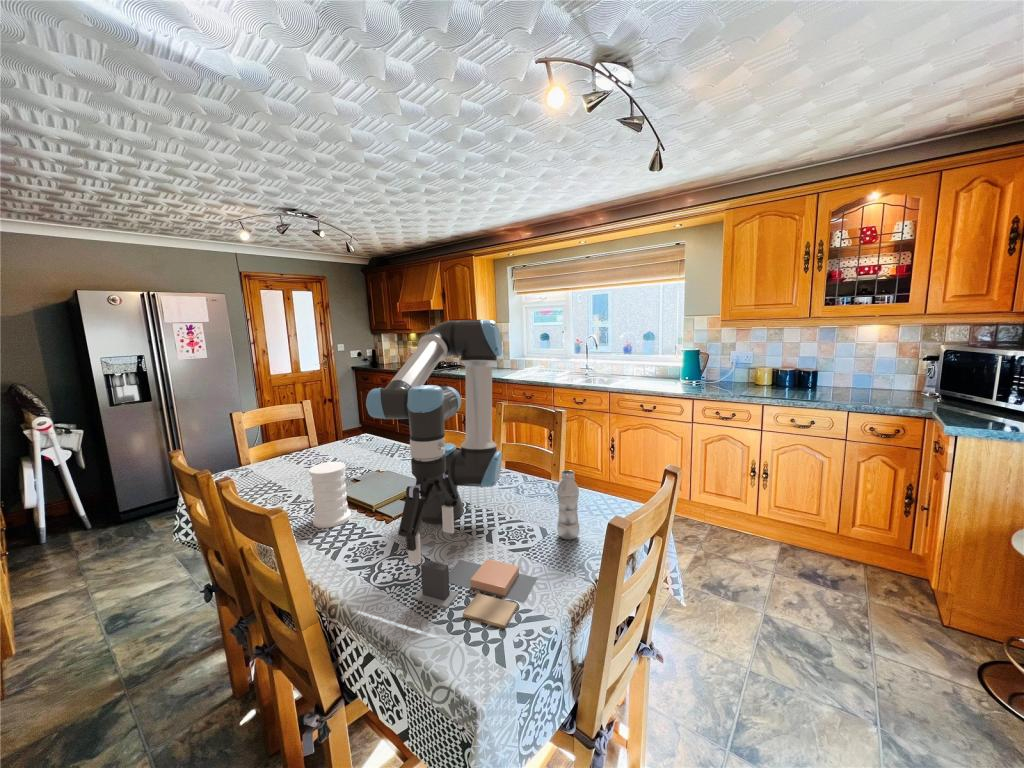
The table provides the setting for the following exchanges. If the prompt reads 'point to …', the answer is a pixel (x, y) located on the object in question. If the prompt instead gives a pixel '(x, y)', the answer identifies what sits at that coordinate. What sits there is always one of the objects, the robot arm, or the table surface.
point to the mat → (462, 578)
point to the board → (490, 610)
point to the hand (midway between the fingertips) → (432, 546)
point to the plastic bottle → (568, 506)
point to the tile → (495, 577)
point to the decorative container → (329, 494)
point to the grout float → (435, 585)
